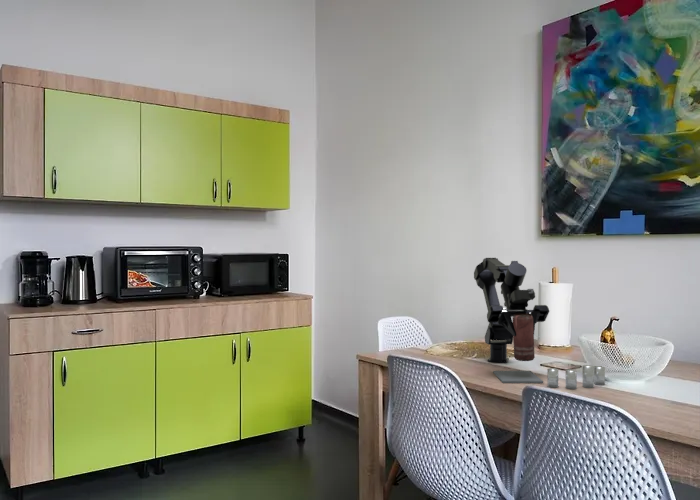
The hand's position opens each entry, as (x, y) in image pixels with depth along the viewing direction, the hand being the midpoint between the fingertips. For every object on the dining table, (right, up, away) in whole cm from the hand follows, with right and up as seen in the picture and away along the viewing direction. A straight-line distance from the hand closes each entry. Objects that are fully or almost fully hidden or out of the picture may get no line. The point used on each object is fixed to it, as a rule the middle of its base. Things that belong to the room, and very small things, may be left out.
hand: (524, 335), depth 178 cm
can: (+1, -8, +2) cm, 8 cm away
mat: (-2, -13, +1) cm, 14 cm away
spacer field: (+15, -13, -8) cm, 21 cm away
